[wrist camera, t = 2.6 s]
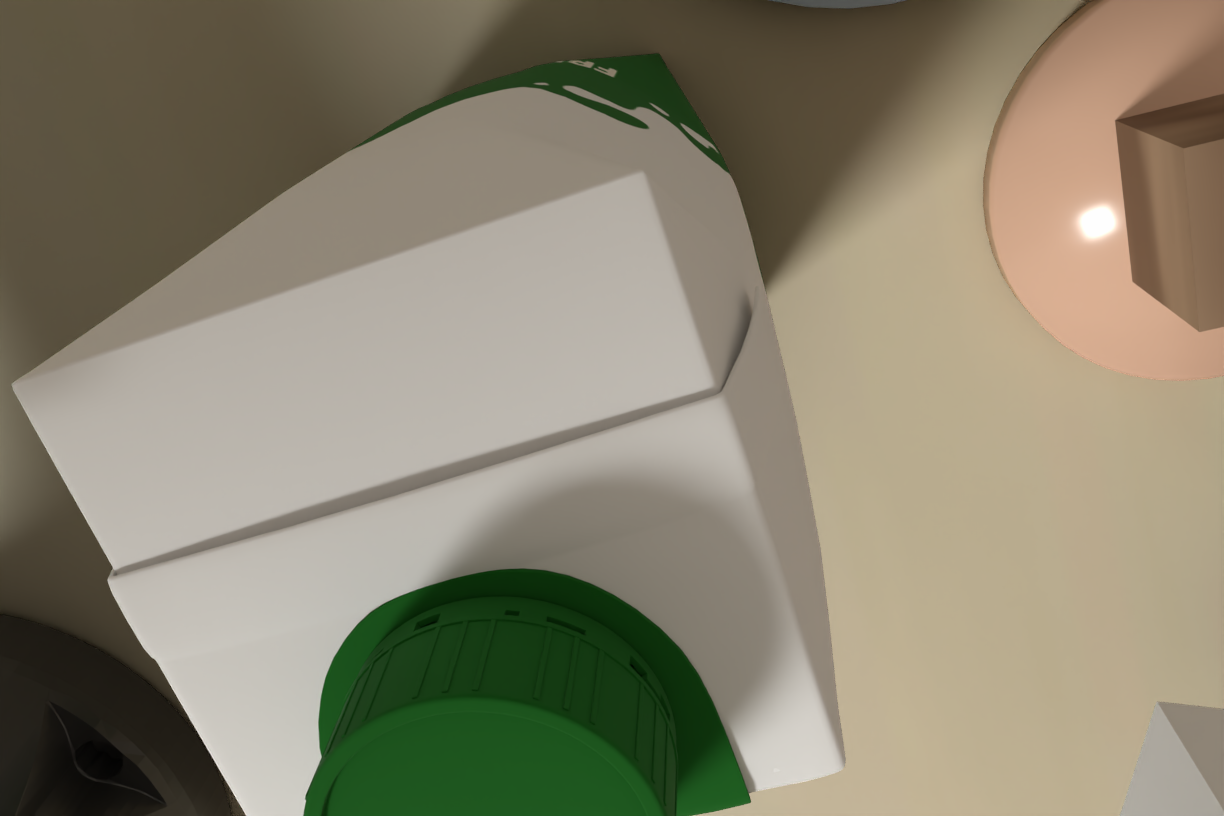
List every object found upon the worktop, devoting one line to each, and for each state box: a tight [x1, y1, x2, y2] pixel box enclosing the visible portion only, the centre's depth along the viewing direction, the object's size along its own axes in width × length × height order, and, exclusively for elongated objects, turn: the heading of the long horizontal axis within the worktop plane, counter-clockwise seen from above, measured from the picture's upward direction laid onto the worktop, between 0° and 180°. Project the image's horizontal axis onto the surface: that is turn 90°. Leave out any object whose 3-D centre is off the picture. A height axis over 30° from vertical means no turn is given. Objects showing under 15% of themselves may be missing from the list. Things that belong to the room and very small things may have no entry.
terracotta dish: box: [983, 0, 1224, 381], centre depth 28 cm, size 10×10×1 cm
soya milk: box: [11, 53, 846, 816], centre depth 21 cm, size 9×9×20 cm
